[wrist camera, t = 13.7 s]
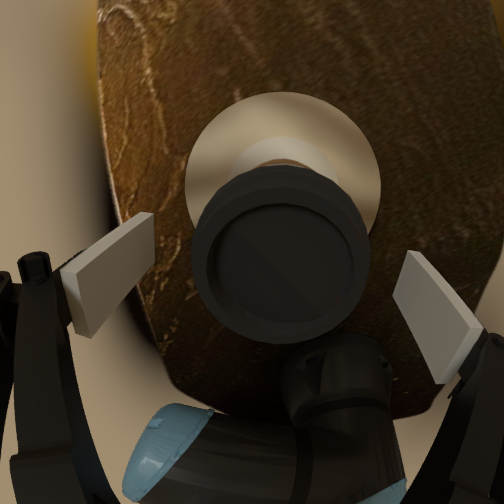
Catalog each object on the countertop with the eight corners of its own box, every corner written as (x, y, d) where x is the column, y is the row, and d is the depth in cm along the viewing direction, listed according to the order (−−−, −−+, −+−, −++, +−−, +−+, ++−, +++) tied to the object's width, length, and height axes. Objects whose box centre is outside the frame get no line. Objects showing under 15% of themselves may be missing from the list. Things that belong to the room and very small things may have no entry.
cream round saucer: (352, 284, 30) (355, 293, 29) (187, 261, 31) (182, 268, 30) (389, 114, 23) (396, 114, 21) (197, 87, 24) (192, 84, 22)
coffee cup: (279, 254, 28) (272, 375, 14) (216, 191, 26) (144, 267, 12) (348, 198, 25) (413, 282, 11) (285, 126, 23) (287, 124, 9)
